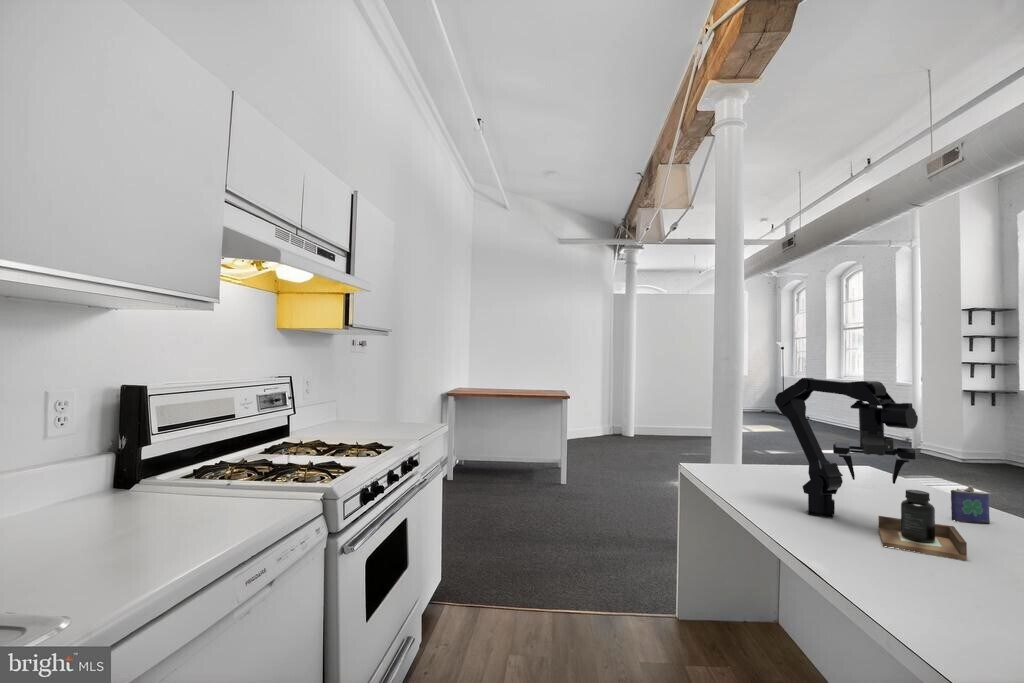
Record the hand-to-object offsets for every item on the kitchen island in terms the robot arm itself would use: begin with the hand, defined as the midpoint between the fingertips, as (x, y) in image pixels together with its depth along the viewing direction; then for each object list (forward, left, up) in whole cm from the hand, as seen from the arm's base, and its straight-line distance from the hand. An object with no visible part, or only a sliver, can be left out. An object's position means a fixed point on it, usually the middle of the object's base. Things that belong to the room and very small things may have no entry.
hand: (873, 481), depth 144 cm
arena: (+9, -9, -13) cm, 18 cm away
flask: (+25, +26, -13) cm, 39 cm away
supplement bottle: (+9, -9, -12) cm, 17 cm away
